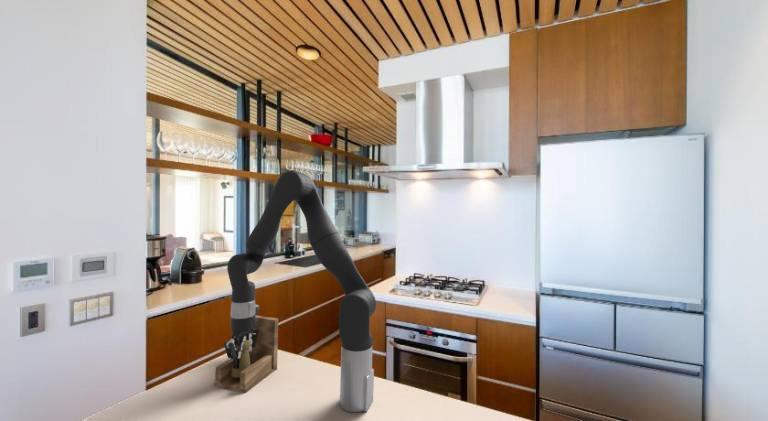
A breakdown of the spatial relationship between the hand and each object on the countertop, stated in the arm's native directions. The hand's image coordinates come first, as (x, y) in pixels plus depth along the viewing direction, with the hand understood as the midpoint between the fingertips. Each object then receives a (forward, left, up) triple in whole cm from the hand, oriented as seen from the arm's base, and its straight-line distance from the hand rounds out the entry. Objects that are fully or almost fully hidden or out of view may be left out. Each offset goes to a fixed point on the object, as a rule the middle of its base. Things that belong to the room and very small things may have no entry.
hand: (241, 365), depth 105 cm
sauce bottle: (+8, -15, -5) cm, 18 cm away
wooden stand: (0, -3, -5) cm, 6 cm away
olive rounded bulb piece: (0, 0, -2) cm, 2 cm away
